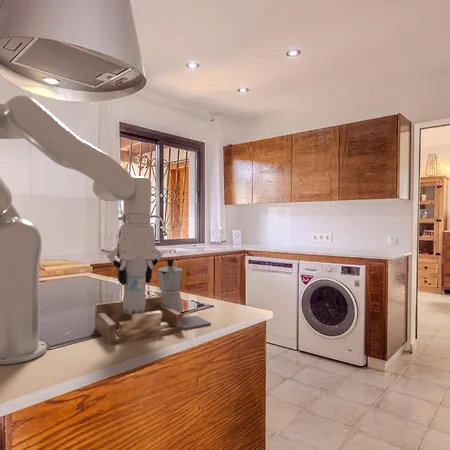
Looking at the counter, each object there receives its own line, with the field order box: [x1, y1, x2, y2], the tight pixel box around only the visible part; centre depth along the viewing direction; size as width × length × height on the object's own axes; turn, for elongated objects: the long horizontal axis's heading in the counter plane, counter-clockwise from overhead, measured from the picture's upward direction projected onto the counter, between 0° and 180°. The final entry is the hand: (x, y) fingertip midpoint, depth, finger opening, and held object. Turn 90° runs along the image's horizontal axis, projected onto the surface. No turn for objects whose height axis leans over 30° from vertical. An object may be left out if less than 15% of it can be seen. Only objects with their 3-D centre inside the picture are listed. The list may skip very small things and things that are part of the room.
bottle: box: [122, 256, 148, 315], centre depth 101 cm, size 7×7×20 cm
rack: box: [94, 295, 183, 346], centre depth 101 cm, size 20×15×7 cm
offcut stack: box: [116, 311, 169, 337], centre depth 97 cm, size 14×2×6 cm, turn 123°
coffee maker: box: [157, 258, 184, 313], centre depth 120 cm, size 15×9×18 cm, turn 167°
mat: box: [182, 315, 212, 331], centre depth 107 cm, size 9×9×1 cm
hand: (134, 282), depth 101 cm, fingers closed on bottle, 6 cm apart
